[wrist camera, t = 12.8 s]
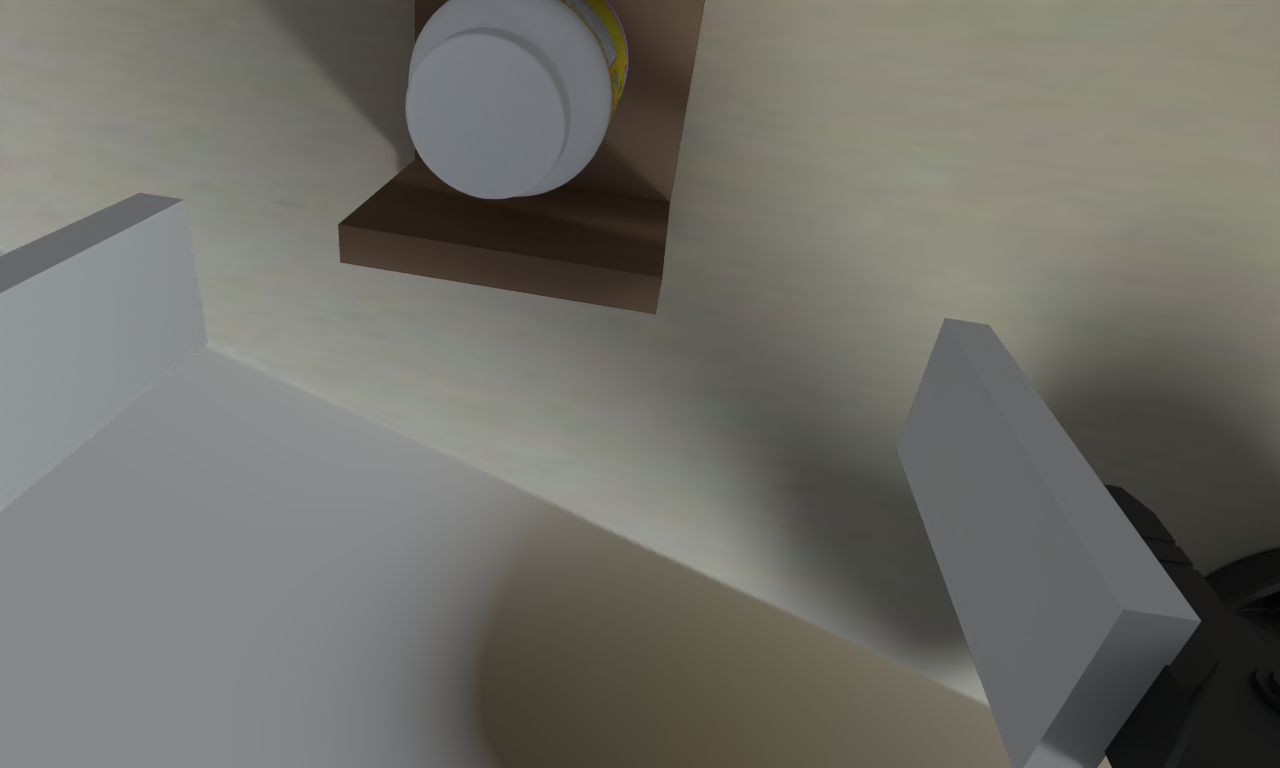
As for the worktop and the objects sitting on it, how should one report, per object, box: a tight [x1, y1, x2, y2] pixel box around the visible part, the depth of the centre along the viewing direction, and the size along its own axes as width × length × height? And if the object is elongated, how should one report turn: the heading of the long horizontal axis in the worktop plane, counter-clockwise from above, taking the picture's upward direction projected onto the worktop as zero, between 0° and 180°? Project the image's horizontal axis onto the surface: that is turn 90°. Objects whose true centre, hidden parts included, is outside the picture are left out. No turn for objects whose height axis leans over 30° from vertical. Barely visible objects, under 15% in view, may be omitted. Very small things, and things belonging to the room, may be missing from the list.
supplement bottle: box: [405, 0, 628, 199], centre depth 28 cm, size 7×7×13 cm
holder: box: [338, 0, 705, 314], centre depth 30 cm, size 16×12×10 cm
